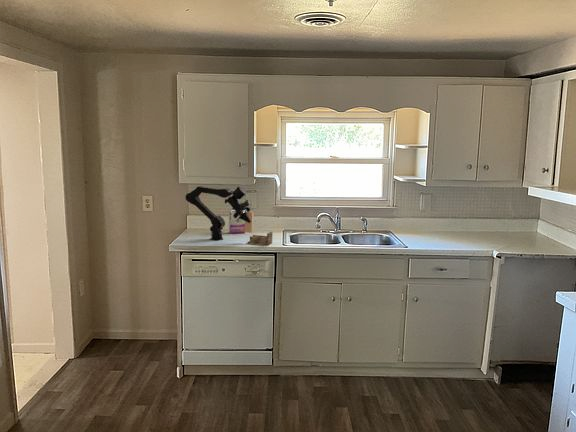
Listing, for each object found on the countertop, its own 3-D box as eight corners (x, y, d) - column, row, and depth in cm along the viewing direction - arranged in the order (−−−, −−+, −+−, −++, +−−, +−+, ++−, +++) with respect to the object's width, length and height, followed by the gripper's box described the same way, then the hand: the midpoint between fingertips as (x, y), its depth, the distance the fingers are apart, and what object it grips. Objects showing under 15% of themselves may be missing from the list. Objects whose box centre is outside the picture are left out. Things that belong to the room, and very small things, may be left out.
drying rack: (247, 243, 307) (247, 232, 306) (252, 241, 314) (252, 230, 313) (268, 245, 303) (268, 233, 302) (272, 242, 310) (272, 231, 309)
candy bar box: (243, 232, 345) (243, 209, 343) (245, 233, 341) (245, 210, 338) (228, 232, 341) (228, 210, 339) (230, 234, 336) (230, 211, 334)
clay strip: (244, 231, 309) (245, 212, 308) (245, 231, 312) (246, 211, 310) (251, 232, 308) (252, 212, 306) (252, 232, 310) (253, 212, 308)
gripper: (238, 197, 298) (254, 216, 297) (249, 194, 316) (264, 212, 315) (226, 209, 302) (242, 227, 300) (237, 205, 320) (252, 223, 318)
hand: (251, 222), depth 308 cm, fingers closed on clay strip, 2 cm apart
